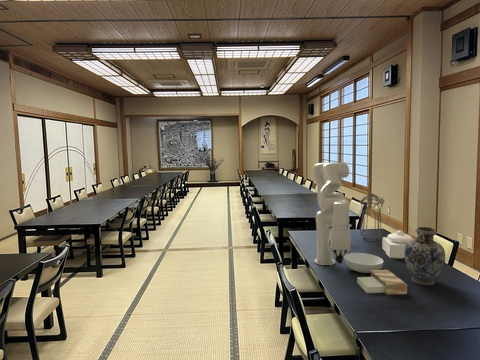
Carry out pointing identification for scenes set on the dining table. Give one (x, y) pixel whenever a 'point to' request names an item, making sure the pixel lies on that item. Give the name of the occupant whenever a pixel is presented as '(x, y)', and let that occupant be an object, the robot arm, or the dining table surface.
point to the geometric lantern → (373, 213)
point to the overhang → (390, 282)
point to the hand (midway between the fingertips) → (339, 262)
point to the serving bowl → (363, 262)
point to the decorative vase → (424, 257)
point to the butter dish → (395, 244)
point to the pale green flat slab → (372, 284)
